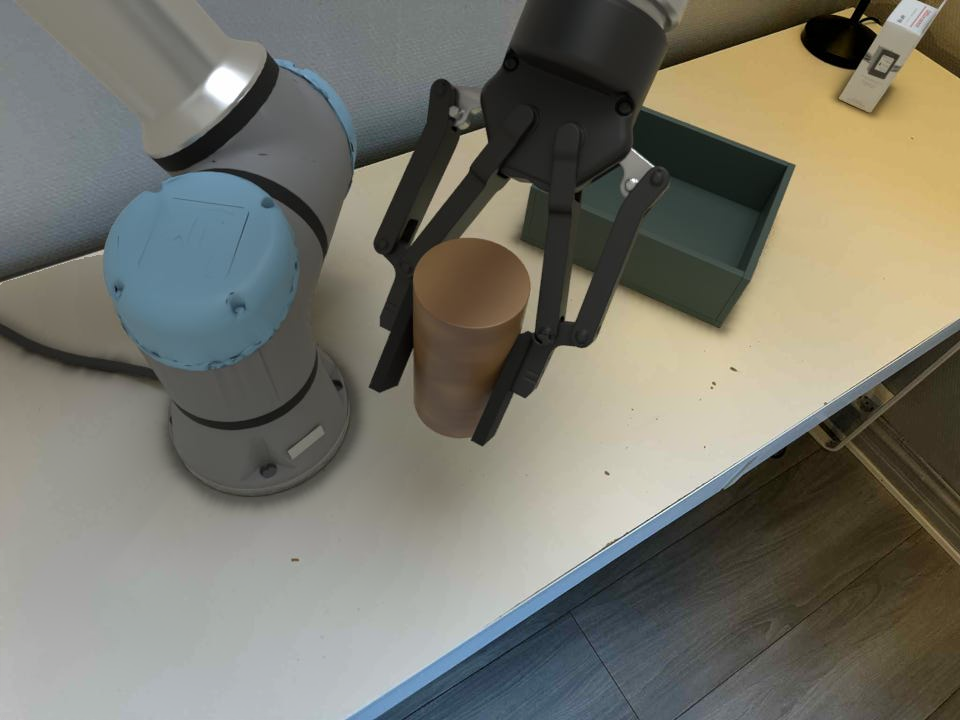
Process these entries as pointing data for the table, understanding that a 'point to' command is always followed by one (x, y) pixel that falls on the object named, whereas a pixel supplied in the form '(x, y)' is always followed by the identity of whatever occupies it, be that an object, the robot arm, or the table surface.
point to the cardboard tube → (464, 329)
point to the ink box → (888, 53)
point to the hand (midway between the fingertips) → (432, 411)
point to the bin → (683, 217)
